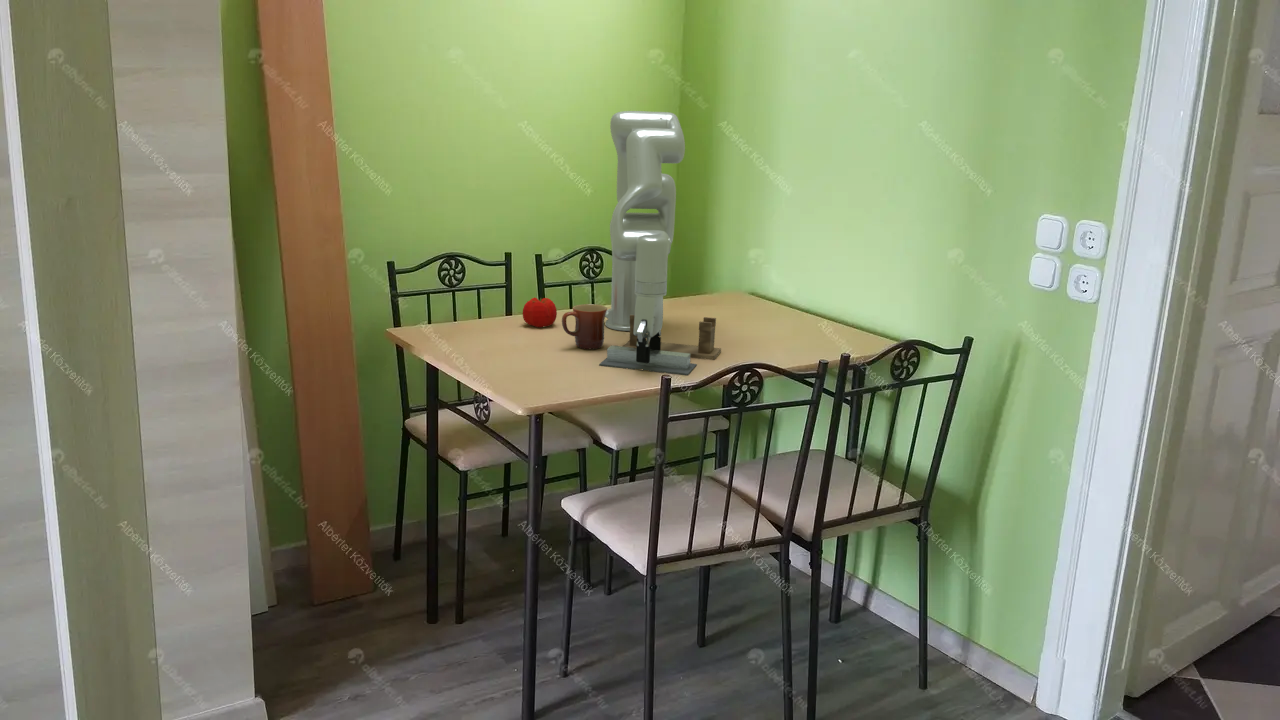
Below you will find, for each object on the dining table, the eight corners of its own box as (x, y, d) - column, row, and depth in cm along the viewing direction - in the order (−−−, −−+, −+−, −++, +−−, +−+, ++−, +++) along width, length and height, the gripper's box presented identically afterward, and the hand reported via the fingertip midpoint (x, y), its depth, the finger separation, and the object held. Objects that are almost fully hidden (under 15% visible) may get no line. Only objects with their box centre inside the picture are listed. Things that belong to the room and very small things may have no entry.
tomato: (551, 321, 283) (552, 295, 281) (559, 328, 275) (559, 302, 273) (519, 322, 280) (519, 296, 278) (525, 330, 272) (525, 303, 270)
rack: (622, 350, 255) (622, 315, 253) (631, 342, 262) (632, 309, 260) (714, 359, 249) (716, 324, 246) (720, 352, 256) (722, 317, 254)
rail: (607, 361, 243) (607, 348, 242) (611, 357, 246) (611, 345, 245) (686, 369, 238) (687, 357, 237) (690, 366, 241) (690, 353, 240)
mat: (599, 365, 241) (599, 363, 241) (610, 356, 249) (610, 354, 249) (688, 375, 235) (688, 373, 235) (696, 365, 244) (696, 363, 243)
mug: (597, 341, 263) (598, 303, 260) (612, 349, 256) (613, 310, 253) (555, 345, 258) (555, 306, 255) (569, 353, 250) (569, 313, 247)
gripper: (645, 279, 246) (643, 347, 251) (625, 293, 230) (623, 364, 235) (675, 282, 244) (672, 350, 249) (656, 296, 228) (653, 368, 233)
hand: (648, 357), depth 242 cm, fingers open, 9 cm apart
